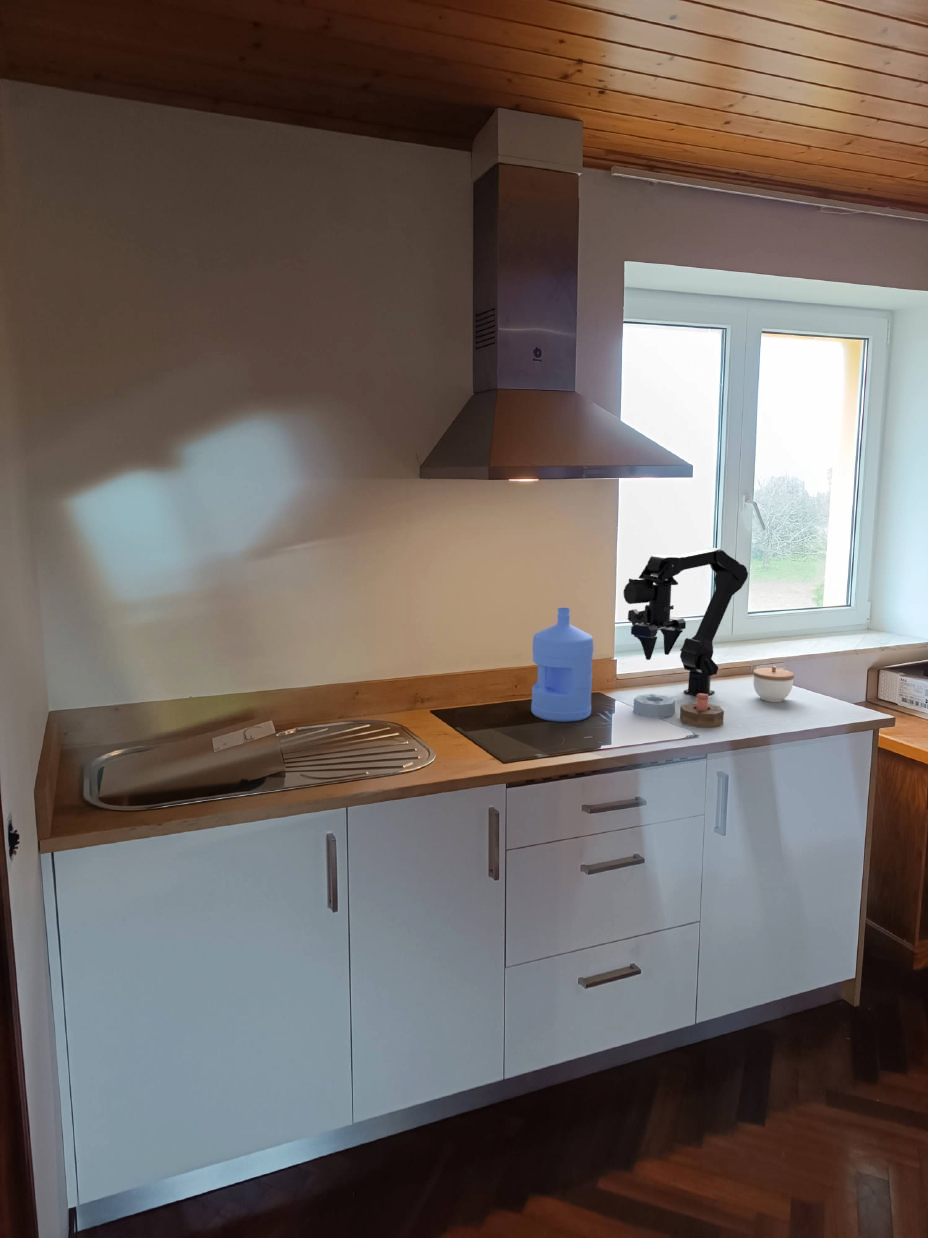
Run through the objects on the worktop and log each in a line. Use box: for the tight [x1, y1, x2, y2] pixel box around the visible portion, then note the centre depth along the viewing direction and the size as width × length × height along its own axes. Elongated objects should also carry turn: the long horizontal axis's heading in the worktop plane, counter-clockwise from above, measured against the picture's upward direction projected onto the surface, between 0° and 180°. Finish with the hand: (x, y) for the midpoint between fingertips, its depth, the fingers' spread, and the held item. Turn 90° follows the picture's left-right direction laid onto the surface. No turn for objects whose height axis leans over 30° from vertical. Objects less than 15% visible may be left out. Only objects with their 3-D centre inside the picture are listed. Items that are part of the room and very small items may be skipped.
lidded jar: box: [752, 665, 795, 703], centre depth 239 cm, size 11×11×9 cm
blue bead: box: [632, 693, 676, 719], centre depth 226 cm, size 10×10×4 cm
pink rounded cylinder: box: [696, 693, 710, 711], centre depth 217 cm, size 3×3×7 cm
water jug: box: [530, 607, 594, 723], centre depth 221 cm, size 16×16×28 cm
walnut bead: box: [679, 702, 725, 728], centre depth 218 cm, size 10×10×4 cm
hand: (657, 657), depth 237 cm, fingers open, 9 cm apart
